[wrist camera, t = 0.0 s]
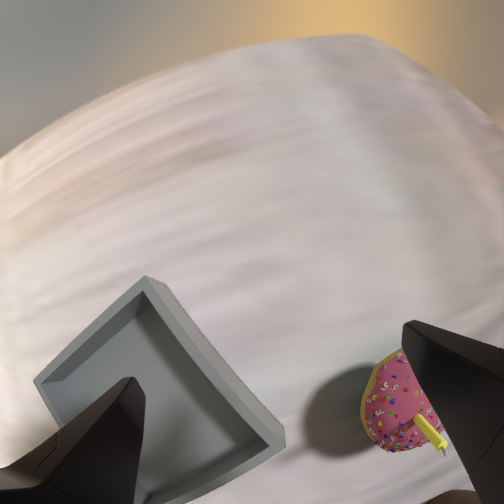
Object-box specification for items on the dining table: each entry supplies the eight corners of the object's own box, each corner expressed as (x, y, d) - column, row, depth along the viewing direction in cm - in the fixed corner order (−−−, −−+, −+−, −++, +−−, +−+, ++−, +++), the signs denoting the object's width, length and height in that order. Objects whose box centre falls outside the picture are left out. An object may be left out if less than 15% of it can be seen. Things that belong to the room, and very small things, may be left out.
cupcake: (385, 447, 19) (448, 508, 8) (325, 396, 21) (370, 453, 10) (445, 376, 20) (533, 393, 9) (392, 321, 22) (478, 311, 11)
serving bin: (283, 426, 21) (286, 447, 16) (155, 499, 19) (138, 521, 15) (165, 284, 25) (145, 275, 20) (60, 376, 23) (32, 380, 18)
